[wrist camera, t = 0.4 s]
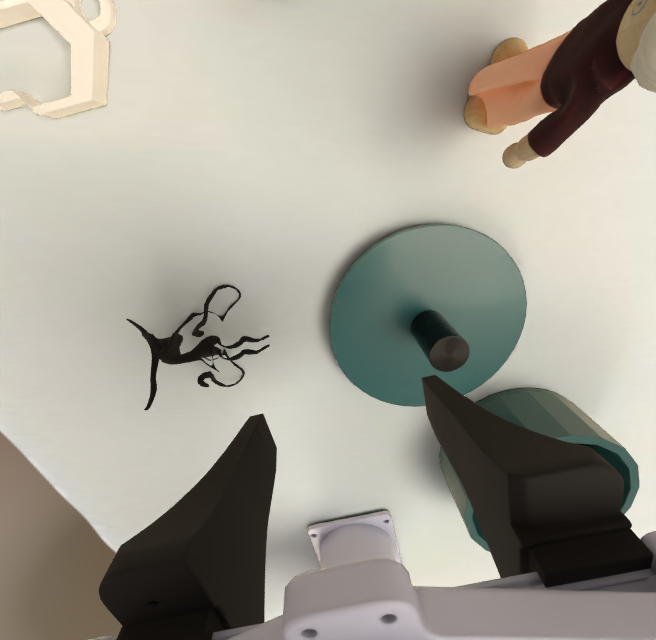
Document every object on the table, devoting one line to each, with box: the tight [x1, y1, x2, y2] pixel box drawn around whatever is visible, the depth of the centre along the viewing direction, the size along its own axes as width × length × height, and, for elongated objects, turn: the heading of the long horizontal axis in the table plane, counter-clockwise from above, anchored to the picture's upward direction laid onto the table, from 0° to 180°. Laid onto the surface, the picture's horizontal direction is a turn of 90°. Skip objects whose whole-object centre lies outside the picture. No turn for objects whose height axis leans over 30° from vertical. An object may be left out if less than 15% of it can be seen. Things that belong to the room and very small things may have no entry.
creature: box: [126, 285, 269, 410], centre depth 22 cm, size 8×5×8 cm
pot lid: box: [329, 224, 527, 407], centre depth 22 cm, size 14×14×5 cm
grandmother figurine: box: [464, 0, 656, 168], centre depth 13 cm, size 8×4×13 cm, turn 163°
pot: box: [439, 388, 639, 552], centre depth 27 cm, size 12×13×6 cm
